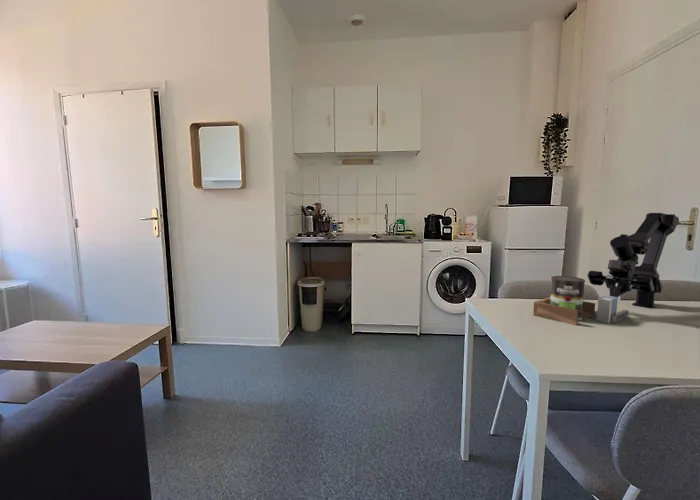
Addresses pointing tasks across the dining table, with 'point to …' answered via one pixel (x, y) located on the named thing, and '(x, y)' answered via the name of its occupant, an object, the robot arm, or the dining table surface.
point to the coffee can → (567, 293)
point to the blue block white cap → (606, 308)
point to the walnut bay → (561, 311)
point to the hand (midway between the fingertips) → (611, 299)
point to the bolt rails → (616, 316)
